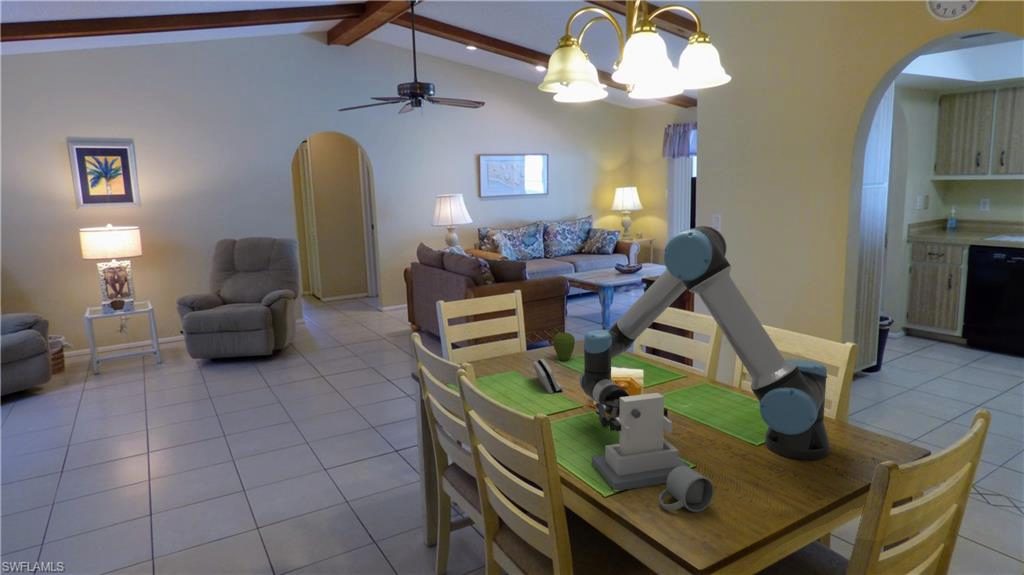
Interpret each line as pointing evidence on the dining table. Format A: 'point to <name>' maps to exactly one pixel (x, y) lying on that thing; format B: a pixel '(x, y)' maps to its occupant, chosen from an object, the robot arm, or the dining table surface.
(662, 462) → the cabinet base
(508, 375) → the dining table surface
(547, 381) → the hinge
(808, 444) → the robot arm
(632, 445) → the cabinet door
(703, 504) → the ceramic mug
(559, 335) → the green vase
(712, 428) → the dining table surface
